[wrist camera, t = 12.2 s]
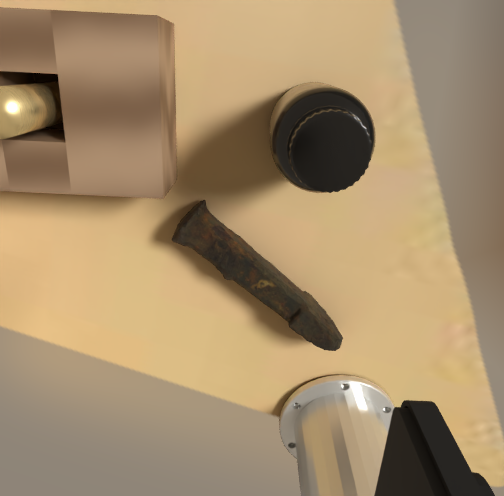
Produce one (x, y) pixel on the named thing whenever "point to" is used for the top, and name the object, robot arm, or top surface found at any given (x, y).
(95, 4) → the top surface
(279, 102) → the supplement bottle
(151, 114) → the hole block
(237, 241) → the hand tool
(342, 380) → the robot arm
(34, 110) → the peg
